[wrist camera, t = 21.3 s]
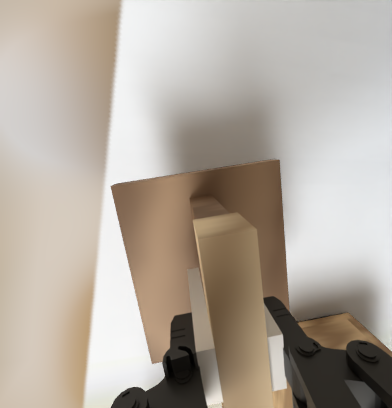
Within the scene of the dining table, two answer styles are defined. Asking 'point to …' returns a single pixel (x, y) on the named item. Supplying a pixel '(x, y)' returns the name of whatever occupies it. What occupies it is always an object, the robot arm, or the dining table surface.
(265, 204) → the lid
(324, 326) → the toolbox
